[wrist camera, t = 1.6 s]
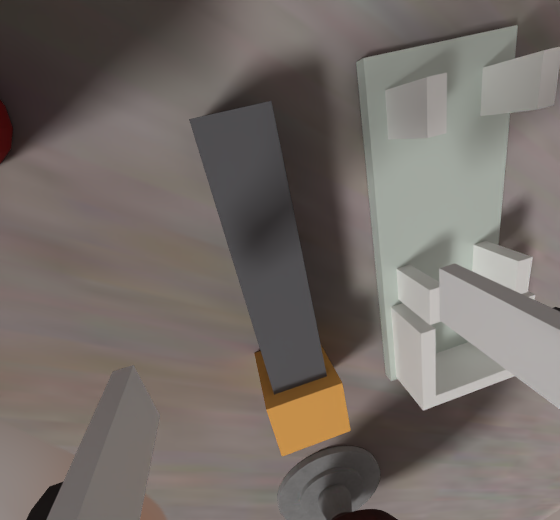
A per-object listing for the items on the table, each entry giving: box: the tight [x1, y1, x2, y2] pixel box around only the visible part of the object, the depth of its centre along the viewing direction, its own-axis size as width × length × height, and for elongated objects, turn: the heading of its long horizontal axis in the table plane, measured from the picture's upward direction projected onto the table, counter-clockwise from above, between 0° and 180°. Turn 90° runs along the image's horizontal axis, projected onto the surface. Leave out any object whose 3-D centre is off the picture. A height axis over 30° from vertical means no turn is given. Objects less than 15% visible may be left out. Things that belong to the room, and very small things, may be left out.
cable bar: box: [189, 101, 351, 456], centre depth 20 cm, size 23×6×6 cm, turn 13°
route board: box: [356, 25, 560, 411], centre depth 23 cm, size 27×11×5 cm, turn 13°
